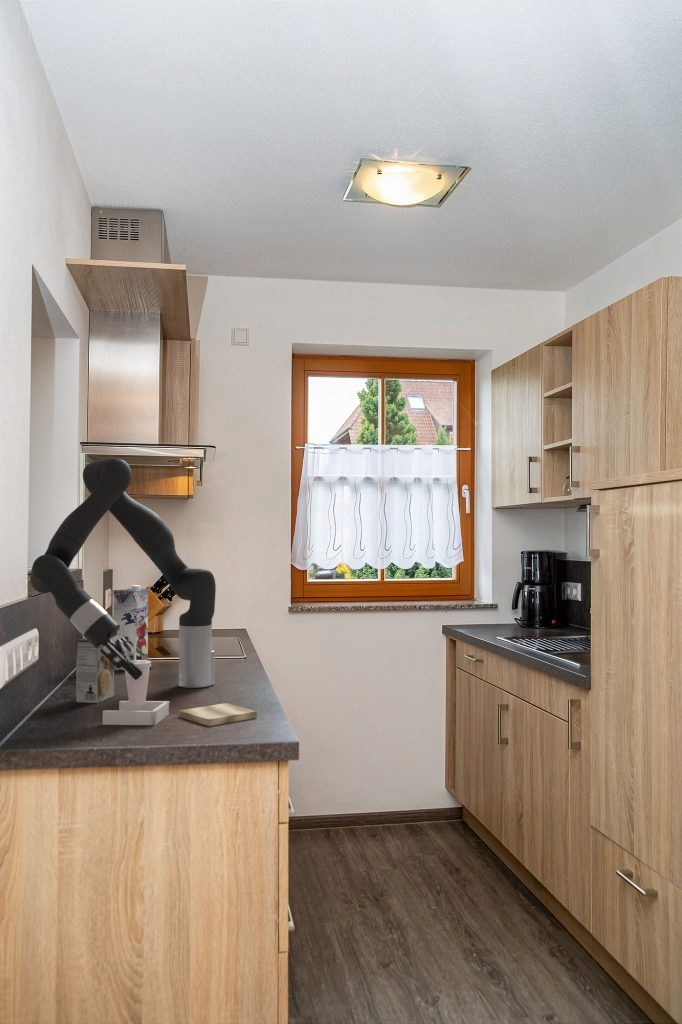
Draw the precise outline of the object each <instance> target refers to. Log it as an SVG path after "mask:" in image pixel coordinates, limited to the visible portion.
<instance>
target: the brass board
mask: <svg viewBox="0 0 682 1024" xmlns="http://www.w3.org/2000/svg"><path fill="white" fill-rule="evenodd" d="M257 714H258V712H257V710H253V709H250V708H246V707H242V706H238V705H234V704H232V703H227V702H225V703H217V704H213V705H212V704H211V705H205V706H200V707H199V706H198V707H192V708H187V709H180V710H179V711H178V717H179V718H181V719H185V720H186V721H187V720H188V721H191V722H195V723H198V724H199V725H200V724H201V725H204V726H206V727H213V726H218V725H223V724H230V723H235V722H241V721H245V720H246V721H247V720H251V719H257V718H258V716H257Z"/></svg>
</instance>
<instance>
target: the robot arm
mask: <svg viewBox="0 0 682 1024" xmlns="http://www.w3.org/2000/svg"><path fill="white" fill-rule="evenodd" d="M132 476H133V475H132V469H131V467H130V465H129V463H128V462H127V461H125V460H124V459H122V458H118V457H117V458H116V457H114V458H113V457H111V458H105V459H102V460H101V459H100V460H95V461H92V462H90V463H88V464H87V465H85V466H84V468H83V471H82V479H83V484H84V485H85V487H86V489H87V490H88V492H89V493H90V494H89V496H88V497H87V498H86V499H85V500H84V501H82V502H81V504H80V505H79V506H77V507H76V508H75V509H74V510H72V511H71V512H70V513H69V514H68V516H66V518H65V519H64V520H63V521H62V522H61V524H60V525H59V526H58V528H57V530H56V531H55V532H54V534H53V536H52V538H51V539H50V541H49V543H48V547H47V549H46V551H45V553H44V554H42V555H40V556H38V557H37V558H36V559H35V560H34V561H33V564H32V566H31V571H30V576H29V581H30V585H31V587H32V588H33V589H34V590H35V591H37V593H42V594H47V593H51V595H52V596H53V598H54V600H55V601H54V602H55V605H56V606H57V608H58V610H59V611H61V613H63V614H64V616H66V618H67V619H68V620H69V621H70V622H71V623H72V624H73V627H74V628H75V629H76V630H77V631H78V632H79V633H80V634H81V635H82V636H83V637H84V638H86V639H87V640H88V641H89V642H90V643H91V644H92V645H93V646H94V647H95V648H99V647H101V646H104V647H103V648H102V649H101V650H100V651H101V653H102V654H103V655H104V656H106V657H107V658H108V659H109V660H110V661H111V662H112V663H113V664H114V665H115V666H116V667H117V668H120V667H121V668H122V669H125V670H126V671H127V672H128V673H129V674H130V675H131V676H132V677H133V678H134V679H135V680H137V679H138V678H139V677H140V676H141V675H142V674H143V673H142V671H141V670H140V669H139V668H138V667H137V666H136V665H135V664H134V663H133V662H131V660H134V654H133V653H134V642H133V641H132V640H131V639H130V638H129V637H128V636H125V637H121V636H120V635H119V634H117V631H118V630H119V629H120V625H119V624H118V623H117V622H116V621H115V620H114V619H113V617H112V615H111V614H110V613H109V612H108V611H107V610H106V609H105V608H104V607H103V606H102V605H101V604H100V603H98V602H97V601H96V600H95V599H93V598H92V597H91V595H90V594H89V593H88V592H87V591H86V590H85V589H84V588H83V587H81V586H80V584H79V583H78V581H77V579H76V578H75V576H74V575H73V573H72V572H71V570H70V569H69V568H70V566H71V564H72V562H73V560H74V559H75V557H76V556H77V555H78V554H79V552H80V550H81V549H82V547H83V545H84V544H85V543H86V541H87V540H88V537H89V536H90V535H91V533H92V531H93V530H94V529H95V527H96V526H97V524H98V523H99V522H100V521H101V519H102V518H103V517H104V516H105V514H106V513H107V511H108V512H110V514H112V516H114V518H115V519H116V520H117V521H118V522H119V523H120V524H121V525H120V526H122V527H123V528H124V529H125V531H126V532H127V533H128V534H129V535H130V537H131V538H132V540H133V541H134V542H135V543H136V544H137V545H138V547H139V548H140V549H141V550H142V551H143V552H144V553H145V554H146V555H147V556H148V558H149V559H150V561H152V563H153V564H154V565H155V567H156V568H157V569H158V570H159V571H160V573H161V575H163V577H164V579H165V580H166V581H167V583H168V585H169V586H170V588H171V589H172V591H173V592H174V594H175V595H176V596H177V597H178V598H179V599H180V600H185V601H189V608H188V610H187V611H185V612H184V613H181V614H180V615H179V619H178V687H180V688H181V687H182V688H189V689H190V688H191V689H193V688H194V689H195V688H197V689H198V688H206V687H210V686H212V685H215V683H216V680H215V679H216V677H215V675H216V672H215V671H216V668H215V667H216V664H215V663H216V661H215V660H216V652H215V650H213V642H212V641H213V635H212V633H213V618H214V615H215V610H216V609H215V608H216V607H215V606H216V593H217V591H216V590H217V588H216V587H217V586H216V580H215V576H214V574H213V573H212V572H211V570H209V569H206V568H191V567H190V566H188V565H187V564H186V563H185V562H184V561H183V560H182V559H181V557H180V556H179V555H178V553H177V550H176V544H175V539H174V535H173V532H172V531H171V530H170V528H169V526H167V524H166V523H165V521H164V520H163V519H162V518H161V517H160V516H159V515H158V513H156V512H155V511H153V510H152V509H151V508H148V507H147V506H145V505H143V504H142V503H140V502H138V501H137V500H135V499H133V498H132V497H130V496H129V494H127V492H126V490H127V489H128V488H129V487H130V484H131V482H132V479H133V478H132ZM141 654H142V651H141V650H140V649H139V648H138V647H137V646H136V660H144V659H143V658H142V655H141ZM116 656H117V657H116ZM130 662H131V663H130ZM152 669H153V667H152V665H151V666H150V669H149V672H151V671H152Z"/></svg>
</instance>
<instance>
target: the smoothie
mask: <svg viewBox="0 0 682 1024" xmlns="http://www.w3.org/2000/svg"><path fill="white" fill-rule="evenodd" d="M131 662H133V663H134V664H135V665H136V666H137V667H138V668H139V669H140V670H141V671H142V673H143V674H142V675H141V676H140V677H139V678H138V679H137V680H135V679H134V678H133V677H132V676H131V675H130V674H129V673H128V672H127V671H126V670H125V671H124V673H125V683H126V689H127V690H126V691H127V698H128V701H129V704H130V705H142V704H145V702H146V701H147V694H148V692H147V691H148V685H149V679H150V678H149V676H150V671H149V669H150V666H151V667H152V661H151V660H149V659H148V660H136V643H134V660H131ZM131 662H130V663H131Z"/></svg>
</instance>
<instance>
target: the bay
mask: <svg viewBox="0 0 682 1024" xmlns="http://www.w3.org/2000/svg"><path fill="white" fill-rule="evenodd" d="M118 702H119V703H118V704H119V705H118V710H117V709H116V710H114V709H113V710H111V709H108V710H107V709H106V710H105V709H103V711H102V725H103V726H106V725H108V726H110V725H111V726H112V725H113V726H156V725H157V724H158V723H160V722H161V721H162V720H163V719H165V718H166V717H167V716H169V715H170V710H171V707H170V706H171V705H170V703H171V701H169V700H161V701H160V700H146V702H145V704H142V705H130V704H129V700H119V701H118Z"/></svg>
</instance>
